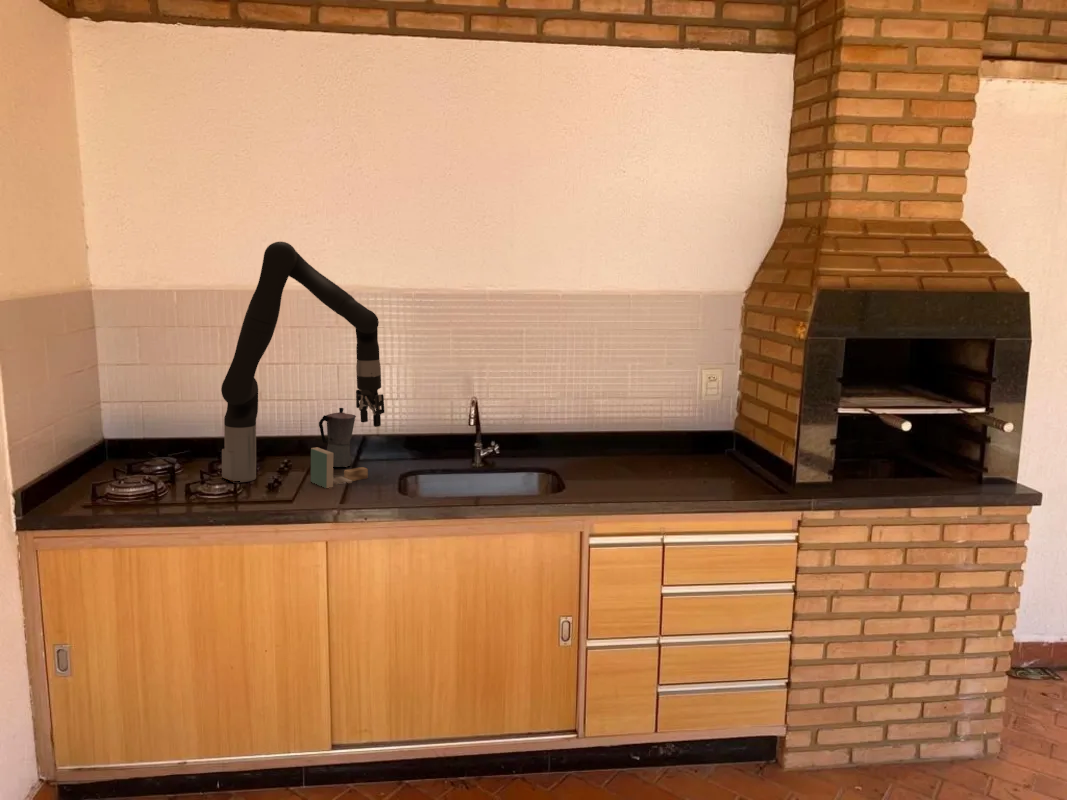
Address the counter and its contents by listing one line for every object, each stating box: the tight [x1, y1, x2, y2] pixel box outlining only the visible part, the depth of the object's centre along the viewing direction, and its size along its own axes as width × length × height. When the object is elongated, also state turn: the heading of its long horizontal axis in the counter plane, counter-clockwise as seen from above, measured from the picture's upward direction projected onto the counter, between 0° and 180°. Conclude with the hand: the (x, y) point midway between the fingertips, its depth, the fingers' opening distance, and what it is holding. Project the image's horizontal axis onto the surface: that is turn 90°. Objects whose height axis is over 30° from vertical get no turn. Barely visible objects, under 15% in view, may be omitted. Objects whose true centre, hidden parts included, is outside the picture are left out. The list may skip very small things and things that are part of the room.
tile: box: [310, 447, 334, 489], centre depth 250 cm, size 2×9×11 cm, turn 46°
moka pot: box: [318, 407, 357, 467], centre depth 273 cm, size 10×15×20 cm, turn 148°
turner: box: [333, 466, 369, 484], centre depth 258 cm, size 12×6×3 cm, turn 136°
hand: (370, 424), depth 257 cm, fingers open, 8 cm apart
